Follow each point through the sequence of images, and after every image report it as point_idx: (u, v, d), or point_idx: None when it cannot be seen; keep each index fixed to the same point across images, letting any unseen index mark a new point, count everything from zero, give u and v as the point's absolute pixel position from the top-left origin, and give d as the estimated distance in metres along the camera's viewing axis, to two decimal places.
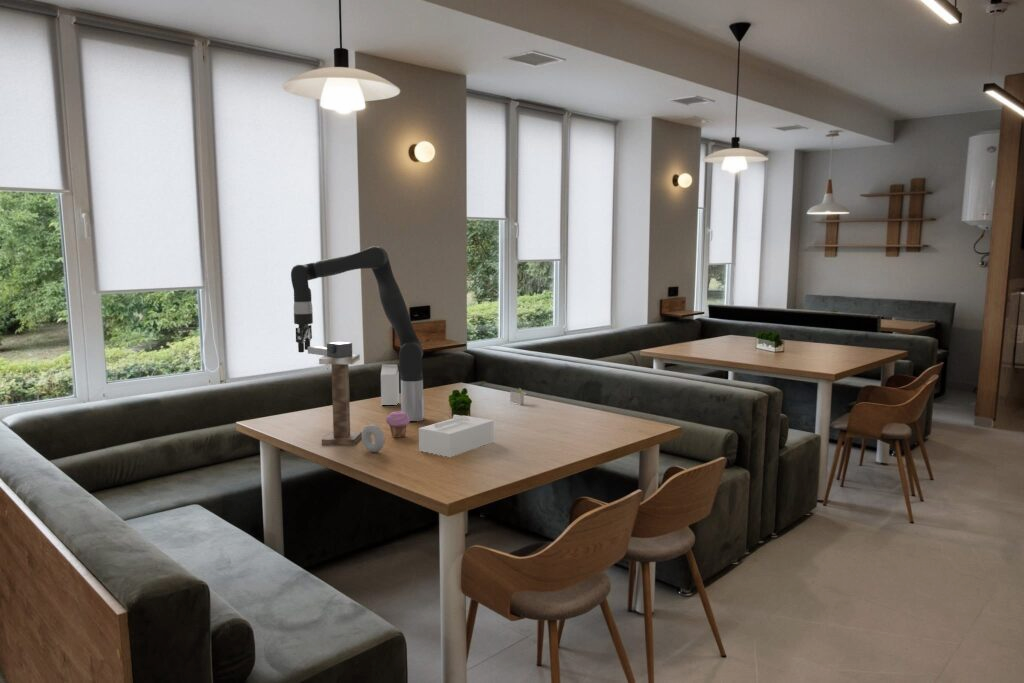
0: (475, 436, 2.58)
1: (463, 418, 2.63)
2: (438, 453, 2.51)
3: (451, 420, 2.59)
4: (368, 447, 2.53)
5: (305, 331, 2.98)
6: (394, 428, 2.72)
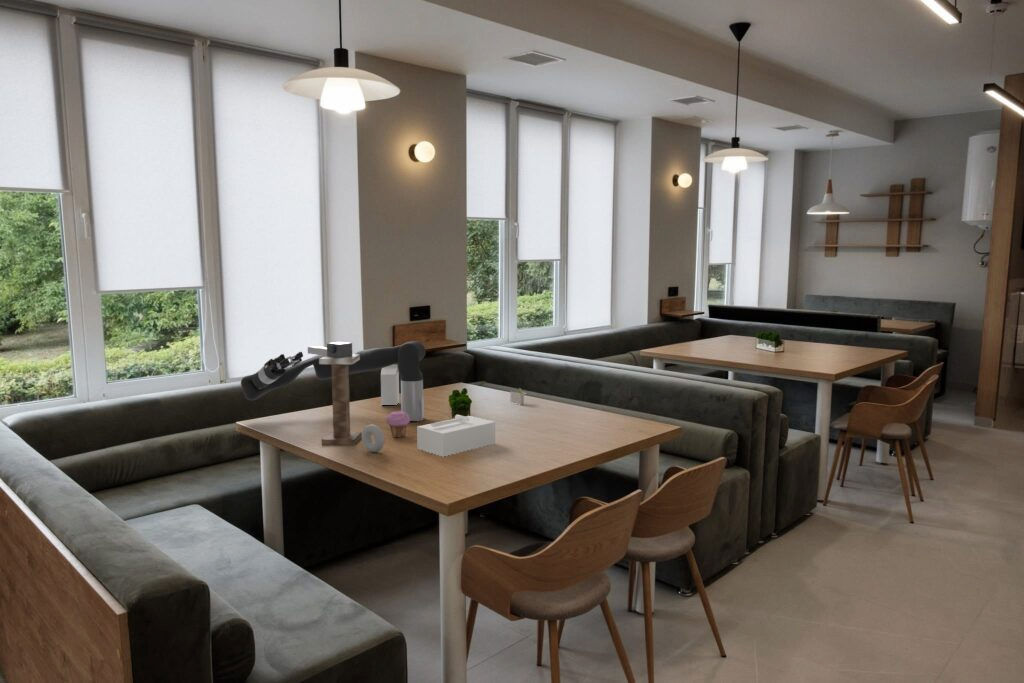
0: (473, 436, 2.57)
1: (464, 418, 2.62)
2: (433, 452, 2.52)
3: (450, 420, 2.59)
4: (368, 447, 2.53)
5: None
6: (394, 428, 2.72)
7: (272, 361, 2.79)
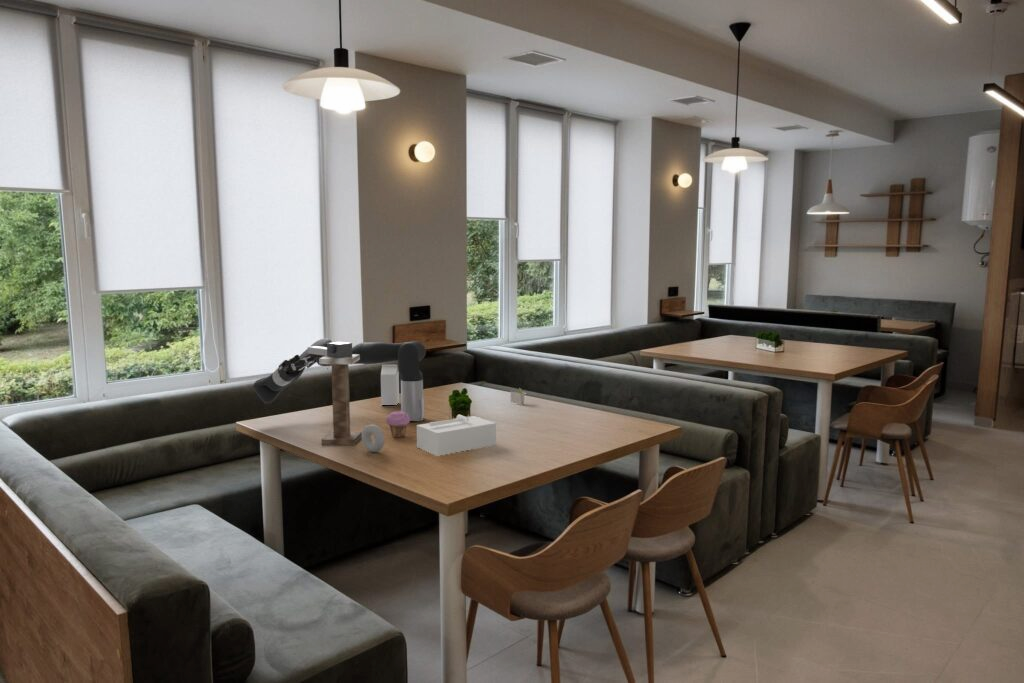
0: (471, 437, 2.57)
1: (464, 418, 2.62)
2: (429, 451, 2.53)
3: None
4: (368, 447, 2.53)
5: (302, 367, 2.82)
6: (394, 428, 2.72)
7: (287, 362, 2.73)
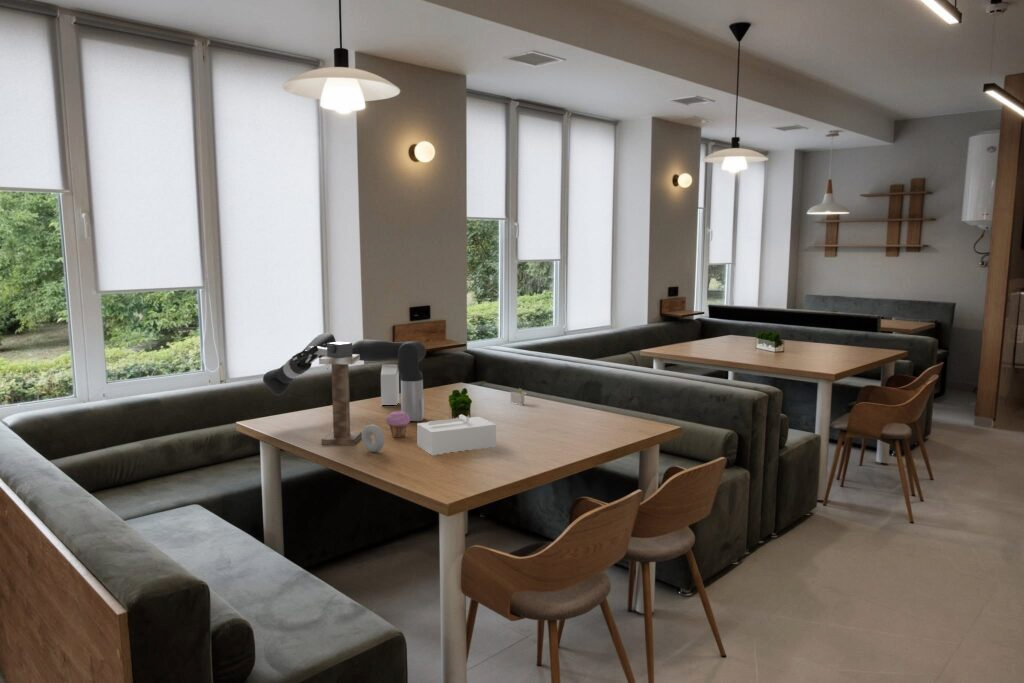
0: (468, 437, 2.56)
1: (464, 419, 2.62)
2: (426, 449, 2.55)
3: None
4: (368, 447, 2.53)
5: (313, 359, 2.78)
6: (394, 428, 2.72)
7: (305, 352, 2.71)
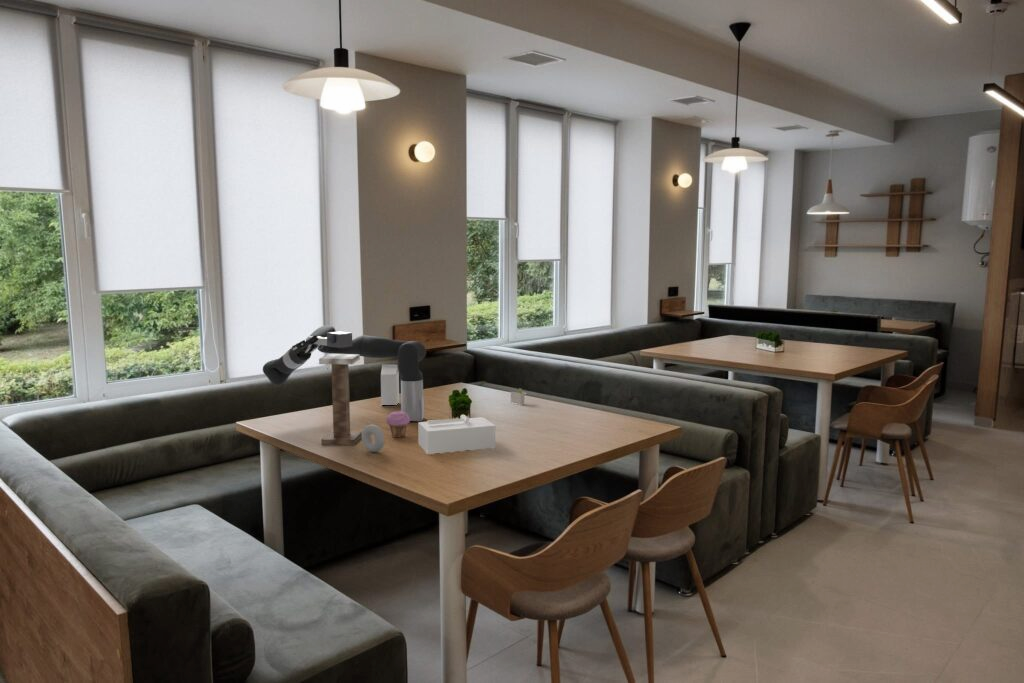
0: (466, 438, 2.56)
1: (464, 419, 2.62)
2: (424, 448, 2.56)
3: (449, 419, 2.61)
4: (368, 447, 2.53)
5: (313, 349, 2.78)
6: (394, 428, 2.72)
7: (305, 342, 2.70)
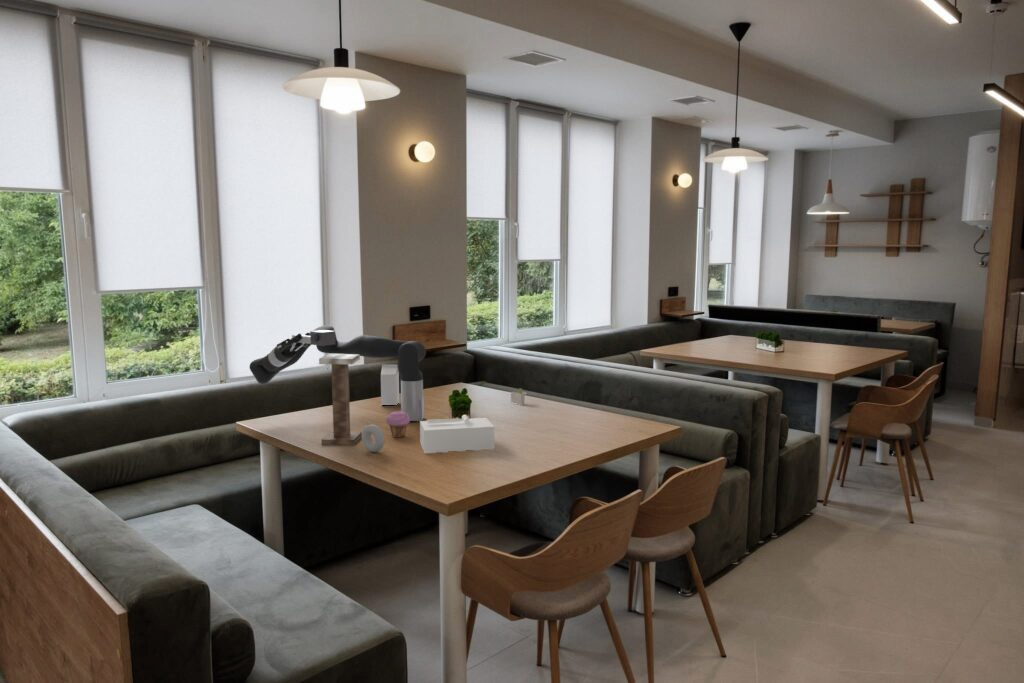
0: (464, 438, 2.55)
1: (464, 419, 2.61)
2: None
3: (449, 419, 2.61)
4: (368, 447, 2.53)
5: None
6: (394, 428, 2.72)
7: (289, 341, 2.76)
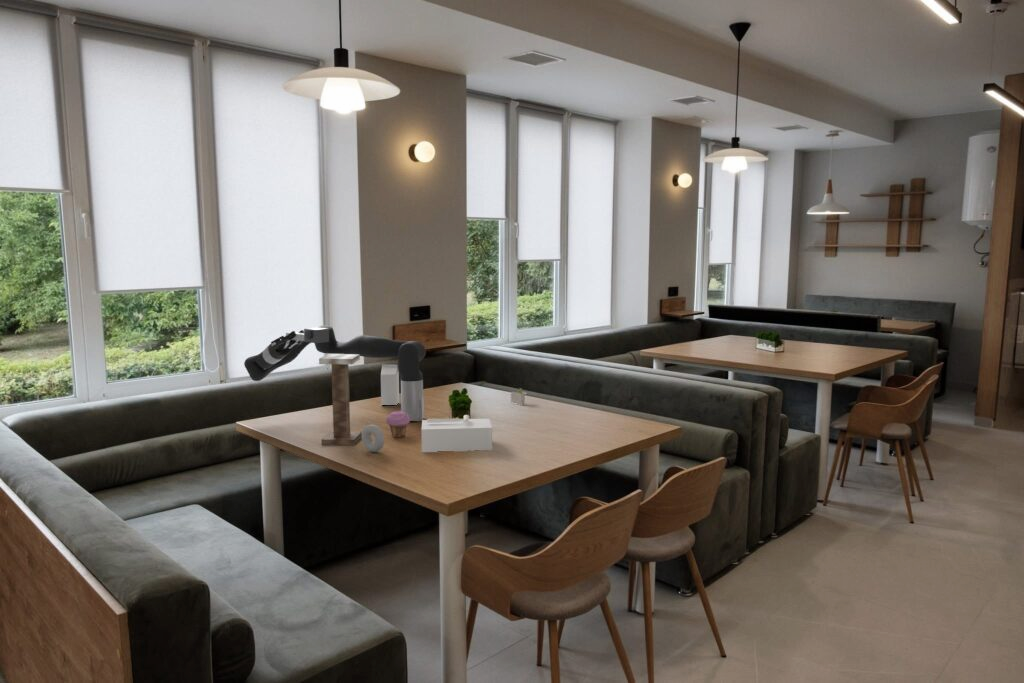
0: (461, 438, 2.55)
1: (464, 419, 2.61)
2: None
3: None
4: (368, 447, 2.53)
5: None
6: (394, 428, 2.72)
7: (283, 338, 2.78)
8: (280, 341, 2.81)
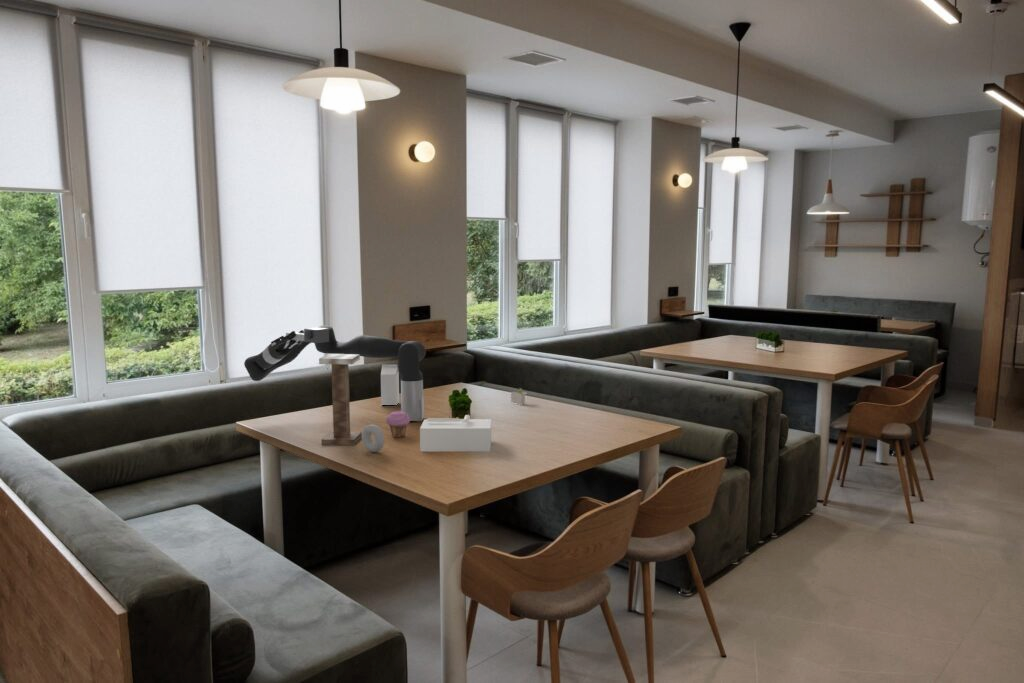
0: (459, 438, 2.55)
1: (464, 419, 2.61)
2: None
3: (449, 418, 2.62)
4: (368, 447, 2.53)
5: None
6: (394, 428, 2.72)
7: (283, 338, 2.78)
8: (280, 341, 2.81)
